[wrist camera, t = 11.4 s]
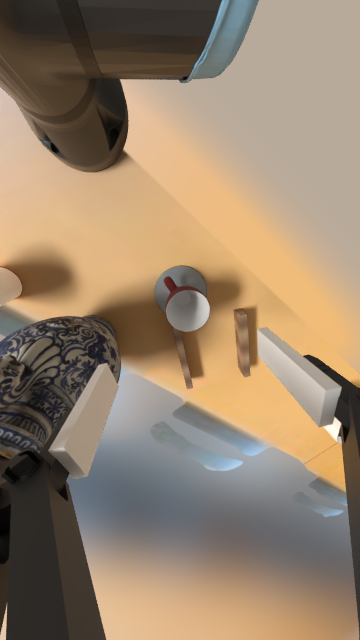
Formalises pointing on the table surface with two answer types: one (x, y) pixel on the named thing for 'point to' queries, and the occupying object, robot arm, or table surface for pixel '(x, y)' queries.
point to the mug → (185, 307)
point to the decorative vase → (48, 376)
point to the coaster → (178, 283)
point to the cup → (9, 286)
